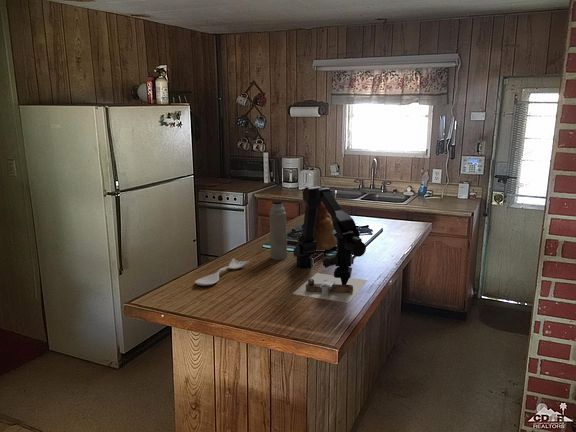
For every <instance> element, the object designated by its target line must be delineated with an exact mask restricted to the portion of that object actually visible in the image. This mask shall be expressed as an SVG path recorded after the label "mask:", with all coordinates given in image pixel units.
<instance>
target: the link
mask: <svg viewBox="0 0 576 432" xmlns="http://www.w3.org/2000/svg"><path fill="white" fill-rule="evenodd" d="M320 285H321V284H315V283H314V285H308V283H307V284H306V291H308V292H314V291H322V288H320ZM330 292H353V286H352V285H339V284H334V285H333V287H332V289H330Z"/></svg>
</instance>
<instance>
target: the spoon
mask: <svg viewBox="0 0 576 432" xmlns="http://www.w3.org/2000/svg"><path fill="white" fill-rule="evenodd" d="M248 263H250V261H249V260H245V261H241V260H240V261H239V260H237V259H235V258H232V260H230V262H229V264H228V266H227V265H226V266H224V267H221V268H218V271H216V272H214V273H211V274H209V275H206V276H203V277H200V278H198V279H196V280H194V283H195V284H196V285H198V286H212V285H214V284H217V282H219V280H220V273H222V272H225V271H226V270H237V269H241V268H243V267H244V266H245V265H248Z"/></svg>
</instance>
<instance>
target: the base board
mask: <svg viewBox="0 0 576 432" xmlns="http://www.w3.org/2000/svg"><path fill="white" fill-rule="evenodd" d="M309 279H313V280H314V283H315V284H322V283H323V281H324V280H332V281H335V284H339V285H342V282H341V278H335V277H334V274H333V275H331V274H325V273H318V272H316V273H315V274H314V275H313V276H312V277H310V278H309ZM368 281H369V280H368V279H361V278H354V277H350V278H349V280H348V282H347V284H346V285H352V286H353V292H330V295H329V296H323V295H322V291H314V292H308V291H306V284H307V283H308V280H307V281H305V283H303V284H302V285H301V286H299V288H298V289H296V290H295V291H294V292H292V295H297V296H304V297H308V298H309V297H310V298H315V299H316V298H317V299H322V300H327V301H333V302H341V303H346V304H349V303H350V301H352V299H353V298H354V297H355V295H357V294H358V293H359V291H360V290H362V288H363V287H364V286H365V284H366V283H367V282H368Z"/></svg>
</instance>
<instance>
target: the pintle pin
mask: <svg viewBox="0 0 576 432" xmlns="http://www.w3.org/2000/svg"><path fill="white" fill-rule="evenodd" d="M307 281H308V285H314V280H313V279H310V278H308V279H307Z"/></svg>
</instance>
